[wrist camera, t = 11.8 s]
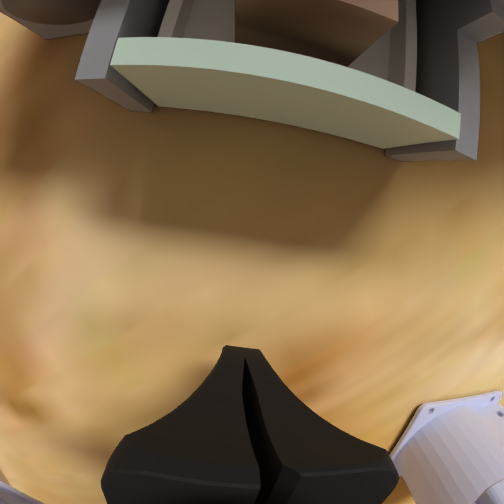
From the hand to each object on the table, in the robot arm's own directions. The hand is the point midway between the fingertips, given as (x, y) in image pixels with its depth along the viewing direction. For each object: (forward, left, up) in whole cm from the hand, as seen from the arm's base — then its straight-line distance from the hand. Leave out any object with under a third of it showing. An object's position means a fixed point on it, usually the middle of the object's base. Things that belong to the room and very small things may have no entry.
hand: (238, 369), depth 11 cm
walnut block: (0, -14, -2) cm, 14 cm away
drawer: (0, -14, -3) cm, 14 cm away
